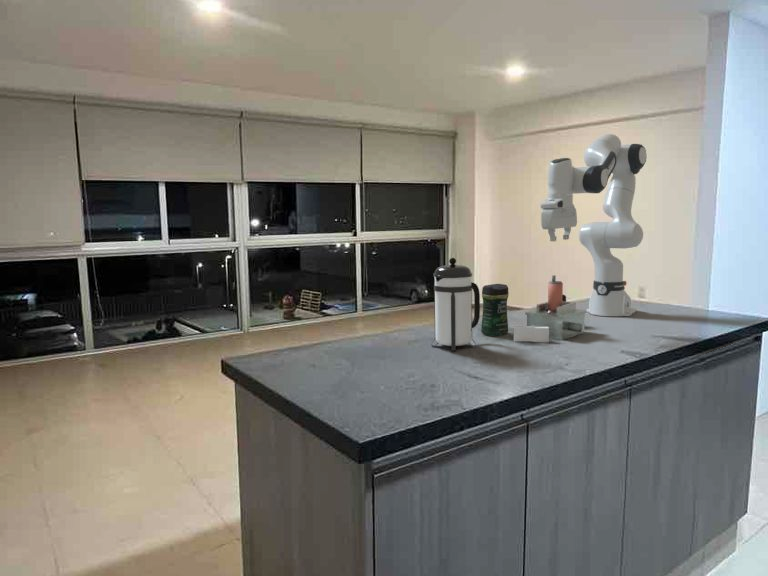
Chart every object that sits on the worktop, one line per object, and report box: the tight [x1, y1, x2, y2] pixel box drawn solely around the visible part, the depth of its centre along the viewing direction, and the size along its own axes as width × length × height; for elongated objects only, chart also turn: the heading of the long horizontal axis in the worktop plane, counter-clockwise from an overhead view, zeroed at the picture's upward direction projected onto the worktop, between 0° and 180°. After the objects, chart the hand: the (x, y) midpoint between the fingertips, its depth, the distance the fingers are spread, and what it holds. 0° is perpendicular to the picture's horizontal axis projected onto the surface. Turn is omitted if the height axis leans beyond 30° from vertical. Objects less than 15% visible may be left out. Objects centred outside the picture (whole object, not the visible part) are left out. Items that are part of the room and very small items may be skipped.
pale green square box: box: [524, 301, 587, 341], centre depth 197 cm, size 17×18×11 cm
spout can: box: [547, 274, 564, 311], centre depth 198 cm, size 5×5×13 cm
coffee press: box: [430, 257, 481, 352], centre depth 183 cm, size 17×16×30 cm
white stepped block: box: [513, 325, 550, 343], centre depth 188 cm, size 15×11×6 cm
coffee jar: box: [480, 283, 509, 337], centre depth 199 cm, size 10×8×19 cm
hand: (559, 240), depth 203 cm, fingers open, 8 cm apart
